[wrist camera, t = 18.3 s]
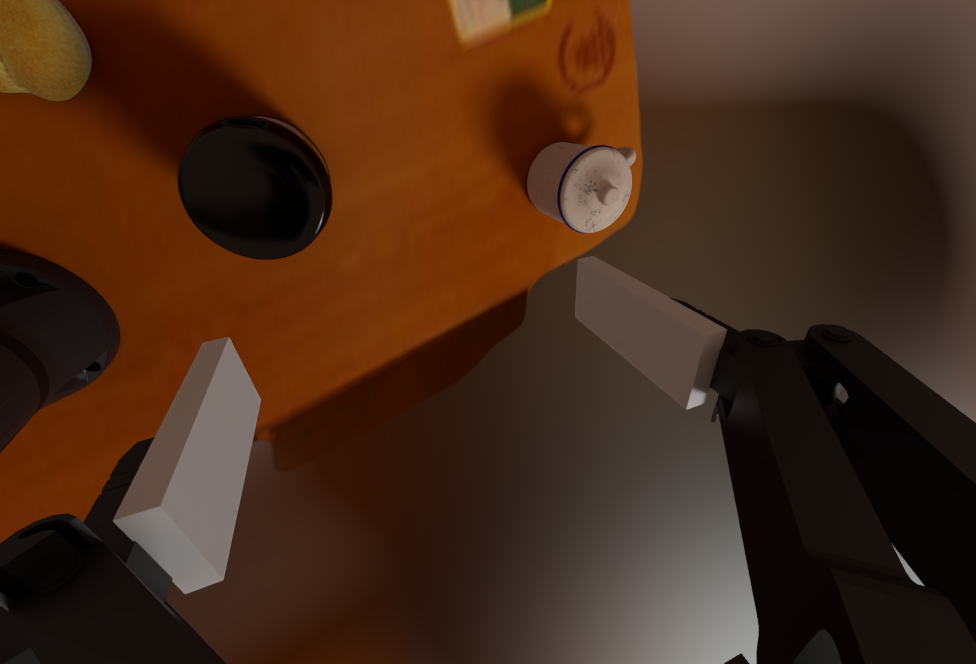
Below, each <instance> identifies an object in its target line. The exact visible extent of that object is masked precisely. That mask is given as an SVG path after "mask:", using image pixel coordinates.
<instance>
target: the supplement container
mask: <svg viewBox="0 0 976 664" xmlns="http://www.w3.org/2000/svg"><path fill="white" fill-rule="evenodd" d="M178 189H179V194H180V198H181V201H182V203H183V206H184V208H185V210H186V212H187V214H188V215H189V217H190V218H191V220H192V221H193V223H194V224H195V225H196V226H197V228H198V229H199V230H200V231H201V232H202V233H203V234H204V235H206V236H207V237H208V238H209V239H210V240H212V241H213V242H214V243H216V244H217V245H219V246H221V247H222V248H224V249H226V250H228V251H230V252H233V253H235V254H238V255H241V256H244V257H248V258H254V259H263V260H270V259H280V258H284V257H288V256H291V255H293V254H296V253H298V252H300V251H301V250H303V249H304V248H306V247H307V246H308V245H309V244H311V243H312V242H313V240H314V239H315V238H316V237H317V236H318V235H319V233H320V232H321V231H322V230H323V228H324V227H325V225H326V223H327V221H328V219H329V216H330V213H331V209H332V187H331V182H330V175H329V170H328V167H327V164H326V162H325V159H324V158H323V156H322V154H321V152H320V151H319V149H318V148H317V146H316V145H315V144H314V143H313V142H312V140H311V139H310V138H309V137H308V136H306V135H305V134H304V133H303V132H302V131H300V130H299V129H298V128H296V127H294V126H293V125H291V124H289V123H287V122H285V121H282V120H280V119H277V118H273V117H269V116H262V115H250V116H235V117H228V118H224V119H221V120H218V121H215V122H213V123H211V124H209V125H208V126H206V127H205V128H203V129H202V130H201V131H200V132H199V133H198V134H197V135H196V136H195V137H194V138H193V140H192V141H191V143H190V144H189V146H188V148H187V150H186V152H185V153H184V155H183V157H182V159H181V162H180V165H179V170H178Z"/></svg>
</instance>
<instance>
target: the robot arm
mask: <svg viewBox="0 0 976 664" xmlns="http://www.w3.org/2000/svg"><path fill="white" fill-rule="evenodd" d="M575 306H576V307H575V317H576V318H577V319H578V320H579V321H580V322H582V323H583V324H584V325H585V326H586V327H588V328H589V329H590V330H591V331H592V332H594V333H595V334H596V335H597V336H598V337H600V338H601V339H602V340H603V341H604V342H606V343H607V344H608V345H609V346H610V347H612V348H613V349H614V350H615V351H617V352H618V353H619V354H620V355H621V356H622V357H624V358H625V359H626V360H627V361H628V362H630V363H631V364H632V365H633V366H634V367H636V368H637V369H638V370H639V371H641V372H642V373H643V374H644V375H645V376H646V377H648V378H649V379H650V380H651V381H652V382H654V383H655V384H656V385H657V386H658V387H660V388H661V389H662V390H663V391H664V392H666V393H667V394H668V395H669V396H670V397H672V398H673V399H674V400H675V401H676V402H678V403H679V404H680V405H681V406H683V407H684V408H685V409H686V410H687V409H689V408H692V407H695V406H698V405H701V404H703V403H705V402H706V399H707V396H708V392H709V389H710V388H712V389H713V390H715V391H716V392H717V393H719V396H718V399H717V402H716V405H715V408H714V411H713V414H712V419H711V422H715V420H716V417H718V416H719V418H720V424H721V429H722V435H723V440H724V445H725V450H726V455H727V461H728V465H729V471H730V476H731V481H732V487H733V492H734V497H735V502H736V507H737V513H738V517H739V523H740V528H741V534H742V539H743V544H744V550H745V555H746V560H747V565H748V570H749V576H750V581H751V586H752V592H753V597H754V601H755V607H756V612H757V618H758V625H759V637H758V644H757V664H976V423H975V422H973V421H972V420H971V419H970V418H968V417H967V416H966V415H964V414H963V413H962V412H960V411H959V410H958V409H957V408H955V407H954V406H953V405H951V404H950V403H948V402H947V401H946V400H945V399H943V398H942V397H941V396H940V395H938V394H937V393H935V392H934V391H933V390H932V389H930V388H929V387H928V386H926V385H925V384H924V383H922V382H921V381H920V380H919V379H917V378H916V377H915V376H913V375H912V374H911V373H909V372H908V371H907V370H905V369H904V368H903V367H901V366H900V365H899V364H897V363H896V362H895V361H893V360H892V359H891V358H890V357H888V356H887V355H886V354H884V353H883V352H882V351H881V350H879V349H878V348H877V347H875V346H874V345H873V344H871V343H870V342H869V341H867V340H866V339H865V338H863V337H862V336H861V335H859V334H857V333H856V332H854V331H851V330H848V329H846V328H845V327H841V326H837V325H825V324H820V325H814V326H812V327H810V328H809V329H808V332H807V334H806V336H805V339H804V340H794V341H787V340H786V339H784V338H783V337H781V336H779V335H777V334H775V333H772V332H769V331H764V330H755V329H754V330H753V329H751V330H750V329H749V330H744V331H741V332H739V331H737V330H736V329H734V328H732V327H730V326H728V325H726V324H725V323H723V322H721V321H719V320H717V319H715V318H713V317H712V316H710V315H706V313H704V312H702V311H701V310H697V309H696V308H695V307H693V306H691V305H689V304H688V303H686V302H683V301H680V300H677V299H673V298H670V297H667V296H665V295H663V294H662V293H660V292H658V291H656V290H654V289H653V288H651V287H649V286H647V285H645V284H643V283H641V282H640V281H638V280H636V279H634V278H632V277H631V276H629V275H627V274H625V273H623V272H622V271H620V270H618V269H616V268H614V267H613V266H611V265H609V264H607V263H605V262H603V261H602V260H600V259H598V258H596V257H594V256H592V257H587V258H583V259H578V266H577V286H576V305H575ZM119 344H120V329H119V325H118V322H117V319H116V317H115V315H114V313H113V311H112V309H111V308H110V306H109V305H108V304H107V302H106V301H105V300H104V299H103V297H102V296H101V295H100V294H99V293H98V292H97V291H96V290H94V289H93V288H92V287H91V286H90V285H89V284H87V283H86V282H85V281H83V280H82V279H80V278H79V277H77V276H76V275H74V274H72V273H71V272H69V271H67V270H65V269H63V268H61V267H59V266H57V265H55V264H53V263H50V262H48V261H45V260H43V259H40V258H37V257H34V256H31V255H27V254H23V253H19V252H15V251H10V250H4V249H0V453H1V452H2V451H3V449H4V448H5V447H6V446H7V445H8V444H9V443H10V442H11V440H12V439H13V438H14V437H15V436H16V435H17V434H18V433H19V431H20V430H21V429H22V428H23V427H24V426H25V425H26V424H27V422H28V421H29V420H30V419H31V418H32V417H33V416H34V415H35V413H36V412H37V411H38V410H40V409H42V408H44V407H46V406H48V405H50V404H52V403H54V402H56V401H58V400H60V399H63V398H65V397H67V396H69V395H71V394H73V393H75V392H77V391H79V390H81V389H83V388H85V387H86V386H88V385H89V384H90V383H92V382H93V381H94V380H96V379H97V378H98V377H99V376H100V375H101V374H102V373H103V371H104V370H105V369H106V368H107V367H108V365H109V364H110V363H111V362H112V360H113V359H114V357H115V356H116V354H117V351H118V348H119ZM842 387H844V388H845V389H846V391H847V393H848V396H849V398H848V399H847V401H846V402H845V403H842V402H841V401H840V400H839V399H838V398H837V396H838V394H839V393H840V391H841V389H842ZM260 403H261V399H260V397H259V395H258V393H257V391H256V389H255V387H254V385H253V383H252V381H251V379H250V377H249V375H248V373H247V371H246V369H245V368H244V366H243V364H242V362H241V360H240V358H239V356H238V354H237V352H236V350H235V348H234V346H233V344H232V342H231V340H230V338H229V337H226V338H221V339H217V340H212V341H208V342H203V343H202V345H201V347H200V349H199V351H198V353H197V355H196V357H195V359H194V361H193V363H192V365H191V367H190V369H189V371H188V373H187V375H186V377H185V379H184V381H183V382H182V384H181V386H180V388H179V390H178V392H177V394H176V396H175V398H174V400H173V402H172V404H171V406H170V408H169V410H168V412H167V414H166V416H165V418H164V420H163V422H162V424H161V426H160V428H159V430H158V432H157V434H156V436H155V437H154V438H150V439H146V440H143V441H139V442H137V443H136V444H135V445H134V446H133V447H132V448H131V449H130V450H129V451H128V452H127V453H126V454H125V455H124V456H123V457H122V458H121V459H120V460H119V461H118V463H117V465H116V467H115V468H114V470H113V472H112V474H111V475H110V480H108V481H107V482H106V484H105V486H104V488H103V489H102V491H101V492H102V494H101V495H99V496H98V498H97V500H96V501H95V503H94V505H93V507H92V508H91V510H90V512H89V514H88V515H87V517H86V519H85V521H84V522H83V523H82V522H81V521H80V520H79V519H78V518H77V517H75V516H73V515H70V514H59V515H52V516H50V517H47V518H44V519H41V520H39V521H36V522H34V523H32V524H30V525H28V526H26V527H25V528H23V529H21V530H19V531H17V532H15V533H14V534H13V535H11V536H10V537H8V538H7V539H6V540H4V541H3V542H2V543H0V606H1V607H0V664H227V663H225V661H224V660H223V659H222V658H221V657H220V656H219V655H218V654H217V653H216V652H215V651H214V650H213V649H212V648H211V647H210V646H209V645H208V644H207V643H206V641H204V639H203V638H202V637H201V636H200V635H199V634H198V633H197V632H196V631H195V630H194V629H193V628H192V627H191V626H190V625H189V624H188V623H187V622H186V621H185V619H184V618H183V617H182V616H181V615H180V614H179V613H178V612H177V611H176V610H175V609H174V608H173V607H172V606H171V605H170V604H169V603H168V602H167V601H166V598H167V595H168V592H169V589H170V586H171V582H172V581H173V582H174V583H175V584H176V586H178V588H179V589H180V590H181V591H182V592H184V594H187V593H189V592H192V591H195V590H198V589H200V588H203V587H205V586H209V585H211V584H214V583H217V582H219V581H222V580H223V579H224V575H225V570H226V565H227V560H228V556H229V551H230V545H231V541H232V536H233V532H234V527H235V522H236V518H237V513H238V508H239V503H240V498H241V494H242V488H243V484H244V479H245V474H246V470H247V465H248V460H249V455H250V451H251V446H252V441H253V436H254V431H255V427H256V422H257V417H258V412H259V407H260ZM891 543H892V544H893V546H894V547H895V548H896V550H897V551H898V552H899V553H900V555H901V556H902V557H903V559H904V560H905V561H906V562H907V564H908V565H909V566H910V567H911V569H912V570H913V571H914V572H915V574H916V575H917V576H918V578H919V579H920V580H921V582H922V583H923V584H924V585H925V586H921V585H918V584H916V583H915V582H913V581H912V580H911V579H910V577H909V576H908V574H907V573H906V571H905V569H904V567H903V565H902V563H901V562H900V559H899V557H898V556H897V554H896V552H895V550H894V548H893V546H892V544H891ZM724 664H749V663H748V661H747V660H746V659H745V657H744V656H743V655H742V654H739V655H737V656H736V657H734V658H733V659H731V660H729V661H727V662H726V663H724Z"/></svg>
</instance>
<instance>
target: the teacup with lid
mask: <svg viewBox="0 0 976 664" xmlns="http://www.w3.org/2000/svg"><path fill="white" fill-rule="evenodd" d="M635 159H636V152H635V150H634V149H633V148H631V147H621V148H616V149H615V148H613V147H610V146H606V145H597V146H587V145H581V144H574V143H567V142H558V143H554V144H551V145H549V146H547V147H546V148H544V149H543V150H542V151H541V152H540V153H539V154H538V155H537V156H536V158H535V159H534V161H533V163H532V164H531V167H530V169H529V173H528V178H527V190H528V195H529V198H530V200H531V202H532V204H533V205H534V206H535V207H536V208H537V209H538V210H539V211H541V212H542V213H544V214H546V215H548V216H550V217H553V218H555V219H557V220H559V221H561V222H563V223H565V224H566V225H567V226H568V227H570V228H571V229H572V230H574V231H577V232H580V233H593V232H597V231H600V230H602V229H604V228H606V227H608V226H609V225H611V224H612V223H613V222H614V221H615V220H616V219H617V218H618V217H619V216H620V214H621V213H622V211H623V210H624V208H625V206H626V204H627V202H628V199H629V196H630V193H631V187H632V175H631V170H630V167H629V166H631V165H632V164H633V163H634V161H635Z"/></svg>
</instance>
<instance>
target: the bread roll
mask: <svg viewBox="0 0 976 664" xmlns="http://www.w3.org/2000/svg"><path fill="white" fill-rule="evenodd" d="M91 66H92V55H91V50H90V46H89V44H88V41H87V39H86V37H85V35H84V33H83V31H82V30H81V28H80V27H79V25H78V24H77V23H76V21H75V20H74V18H73V17H72V15H71V14H70V13H69V12H68V10H67V9H66V8H65V7H64V6H63V5H62V4H61V2H60V1H59V0H0V92H4V93H19V92H27V93H32V94H34V95H36V96H38V97H41V98H43V99H46V100H51V101H63V100H68V99H70V98H72V97H73V96H75V95H76V94H77V93H78V92H79V91H80V90H81V89H82V88H83V86H84V85H85V83H86V82H87V80H88V77H89V74H90V71H91Z"/></svg>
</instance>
